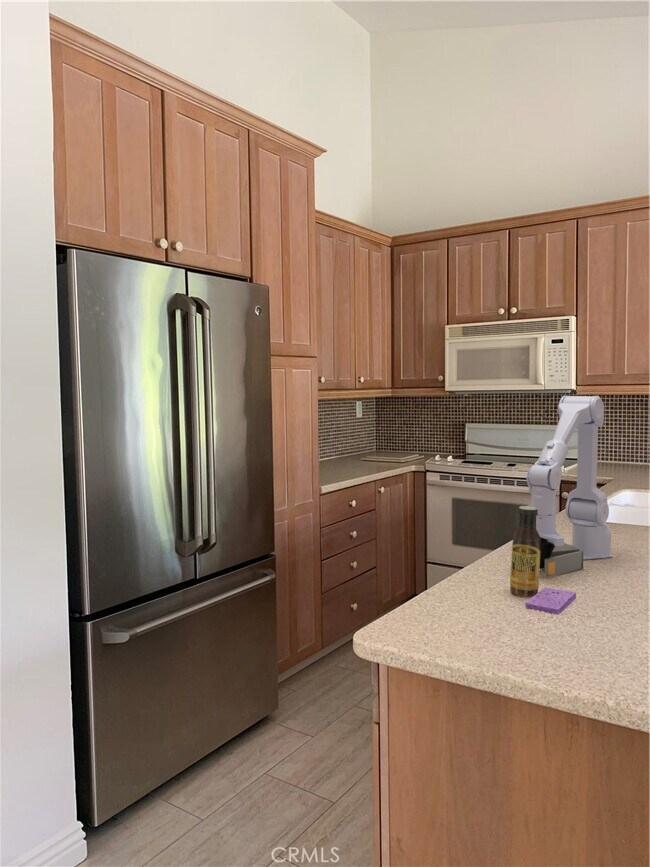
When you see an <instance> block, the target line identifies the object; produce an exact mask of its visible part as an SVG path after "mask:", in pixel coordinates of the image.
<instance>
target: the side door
mask: <svg viewBox="0 0 650 867" xmlns="http://www.w3.org/2000/svg"><path fill="white" fill-rule="evenodd" d="M583 554H584V551H578V552H573V553H569V554H565V555H560V556H556V557H551V558H547V559H545V572H544V577H545V578H549V577H553V576H554V577H555V576H558V575H562V574H565V573H569V572H573V571H579V570H582V569H583V570H584V560H583Z"/></svg>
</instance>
